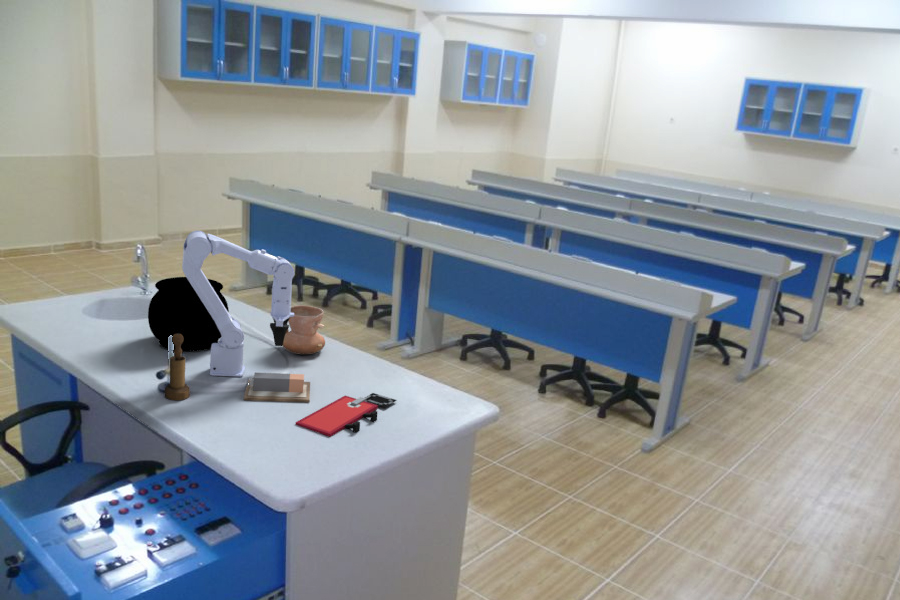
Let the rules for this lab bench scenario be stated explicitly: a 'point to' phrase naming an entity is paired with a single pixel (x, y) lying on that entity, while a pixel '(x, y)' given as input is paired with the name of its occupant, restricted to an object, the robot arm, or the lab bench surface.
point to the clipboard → (278, 395)
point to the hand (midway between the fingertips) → (279, 341)
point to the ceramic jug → (304, 330)
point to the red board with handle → (344, 414)
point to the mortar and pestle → (177, 373)
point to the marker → (277, 382)
